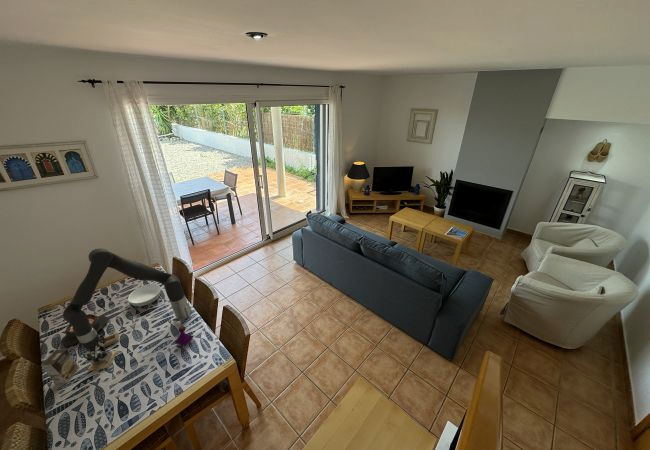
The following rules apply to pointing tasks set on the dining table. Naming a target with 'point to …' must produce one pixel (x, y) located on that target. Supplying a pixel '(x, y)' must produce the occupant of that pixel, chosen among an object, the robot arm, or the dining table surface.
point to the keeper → (103, 365)
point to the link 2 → (111, 339)
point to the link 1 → (103, 360)
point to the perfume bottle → (183, 335)
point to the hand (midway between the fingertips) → (100, 356)
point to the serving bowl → (144, 295)
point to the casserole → (94, 320)
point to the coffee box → (60, 366)
